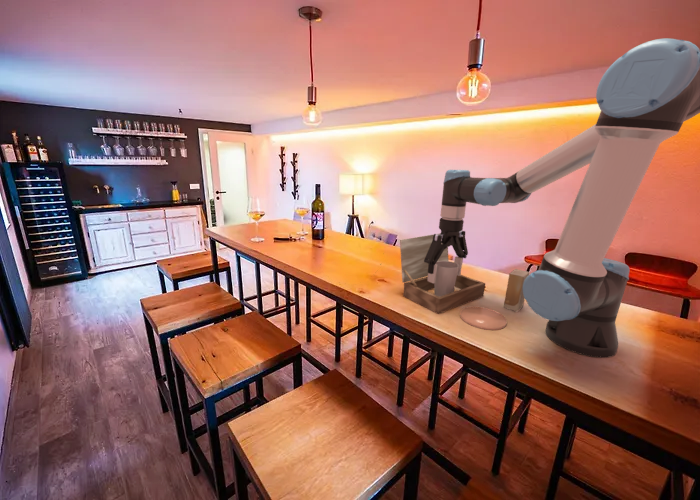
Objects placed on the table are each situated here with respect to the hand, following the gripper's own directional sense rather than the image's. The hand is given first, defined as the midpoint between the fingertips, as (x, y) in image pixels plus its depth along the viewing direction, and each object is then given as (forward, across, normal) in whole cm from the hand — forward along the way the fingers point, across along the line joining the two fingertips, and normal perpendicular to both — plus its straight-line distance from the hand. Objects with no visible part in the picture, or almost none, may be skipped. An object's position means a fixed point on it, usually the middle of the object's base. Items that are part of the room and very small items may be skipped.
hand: (444, 278), depth 102 cm
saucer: (+6, +3, +18) cm, 19 cm away
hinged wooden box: (+7, 0, -1) cm, 7 cm away
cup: (+7, 0, 0) cm, 7 cm away
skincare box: (+7, -13, +18) cm, 23 cm away
